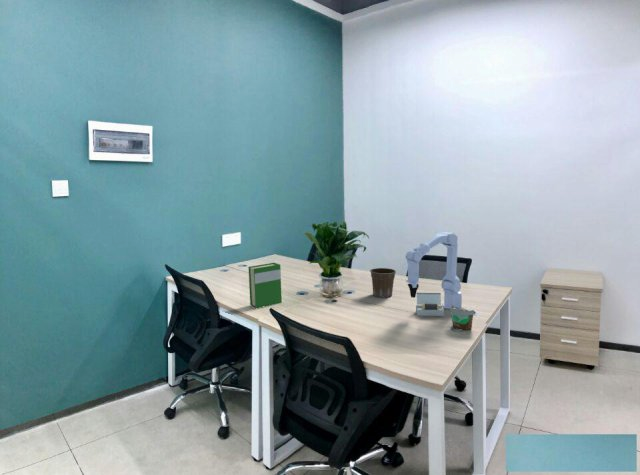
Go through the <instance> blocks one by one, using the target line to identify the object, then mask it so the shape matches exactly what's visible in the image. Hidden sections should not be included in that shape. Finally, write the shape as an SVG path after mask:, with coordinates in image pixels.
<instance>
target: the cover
mask: <svg viewBox="0 0 640 475" xmlns="http://www.w3.org/2000/svg"><path fill="white" fill-rule="evenodd" d="M441 294H442V293H441V292H416V305H423V304H439V306H442V303H441V302H442V299H441V298H442V295H441Z"/></svg>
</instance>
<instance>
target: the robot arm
mask: <svg viewBox="0 0 640 475" xmlns="http://www.w3.org/2000/svg"><path fill="white" fill-rule="evenodd" d="M439 244H442V245H443V246H445V247H446V248H447V249H446V251H447V252H446V271H445V272H446V273H445V275H444V276H442V281H441V284H440V285H441V288H442V289H443V292H444V293H443V294H444V295H443V297H444V298H443V303H441V306H442V307H443V309H447V310H448V309H449V310H450V309H451V306H452V305H453V307H456V308H462V304H463V303H462V302H463V301H462V300H463V299H462V297H463V295H462V292H461V289H462V288H461V287H462V284H461V279H460V278H459V277H458V275H457V268H458V266H457V264H458V247H459V246H458V245H459V244H458V236H457V235H456V234H455V233H454V232H445V231H439V232H438V233H436V234H435V236H434V237H433V238H431V239H430V240H429V241H428V242H426V243H425V242H424V243H423V242H422V243H420V244H419V245H418V246H416V247H414V248H413V250H412V249H410V250H408V251H407V252H406V255H405V259H406V260H407V261H406V263H407V280H406V279H405V282H406V283H407V286H408V288H409V289H408V290H409V294H410V298H413V299H414V298H416V297H417V293H418V292H417V291H418V289H419V287H420V284H419V283H420V276H419V275H420V261H421V260H422V259H423V257H424V256H425V255H427V254H428V253H430V250H431V249H432V248H434V247H436V246H438V245H439Z"/></svg>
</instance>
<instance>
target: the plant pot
mask: <svg viewBox="0 0 640 475" xmlns="http://www.w3.org/2000/svg"><path fill="white" fill-rule="evenodd" d="M369 272H370V277H371V283H372V284H371V285H372V294H373V296H376V298H377V297H378V298H388V297H389V298H390V297H392V296H393V290H394V282H395V276H396V272H397V270H395V269H393V268H387V267H386V268H385V267H377V268H375V267H374V268H372V269H370V270H369Z"/></svg>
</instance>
